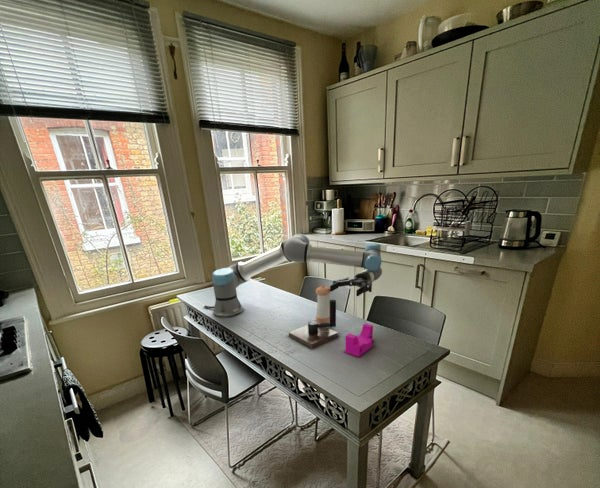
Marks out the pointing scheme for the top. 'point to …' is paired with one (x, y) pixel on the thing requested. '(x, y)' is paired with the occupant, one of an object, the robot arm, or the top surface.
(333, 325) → the black stand
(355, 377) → the top surface
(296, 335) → the pivot base
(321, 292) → the pepper shaker
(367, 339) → the toy block
